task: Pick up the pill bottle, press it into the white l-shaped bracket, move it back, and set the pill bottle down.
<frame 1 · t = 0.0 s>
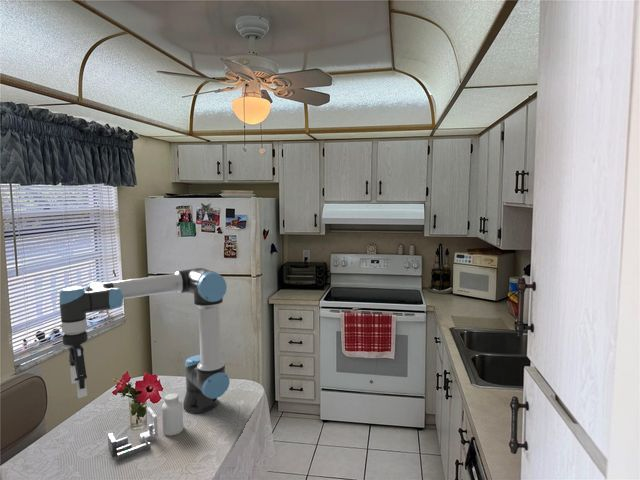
hand: (79, 389, 146), 28 cm above the table, fingers open, 13 cm apart
gauge housing: (120, 449, 157), on the table
white l-shaped bracket: (148, 427, 162), point 6 cm above the table, slide at 0.0 cm
pill bottle: (173, 431, 170), on the table
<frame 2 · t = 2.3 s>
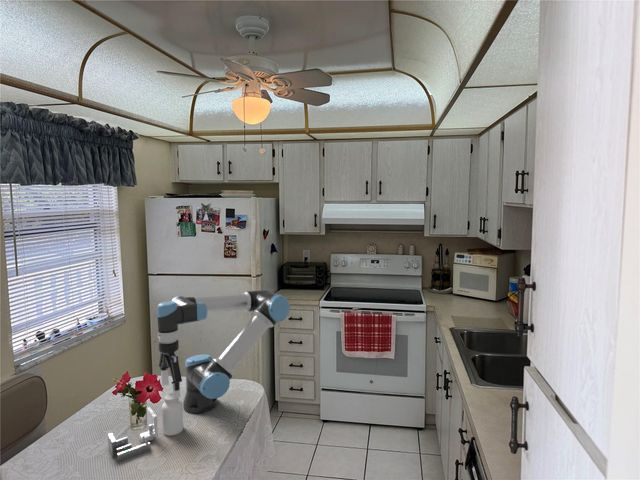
hand: (170, 391, 168), 17 cm above the table, fingers open, 13 cm apart
nothing on the table moved.
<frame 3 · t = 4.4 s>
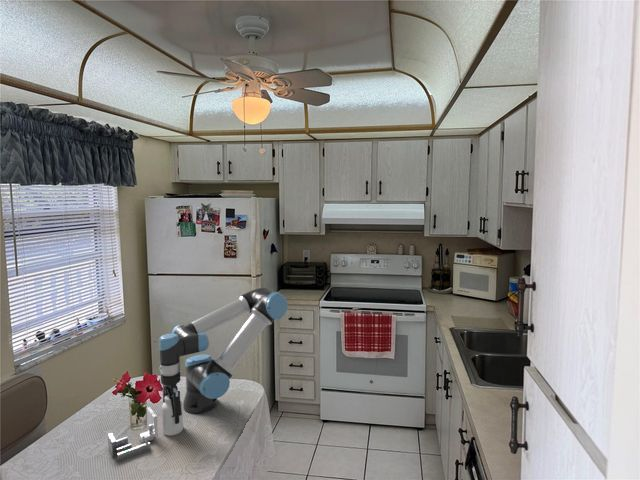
hand: (172, 425, 169), 2 cm above the table, fingers closed on pill bottle, 8 cm apart
pill bottle: (173, 431, 170), on the table, touching gripper
everything else where it was.
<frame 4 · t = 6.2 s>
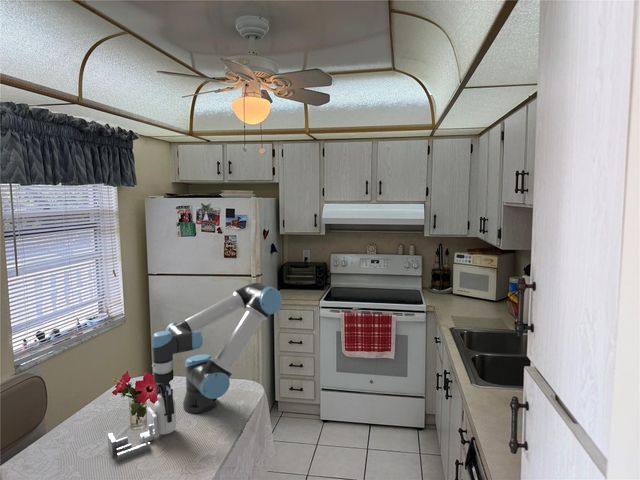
hand: (165, 424, 167), 4 cm above the table, fingers closed on pill bottle, 8 cm apart
pill bottle: (165, 429, 168), point 1 cm above the table, touching gripper
everything else where it was.
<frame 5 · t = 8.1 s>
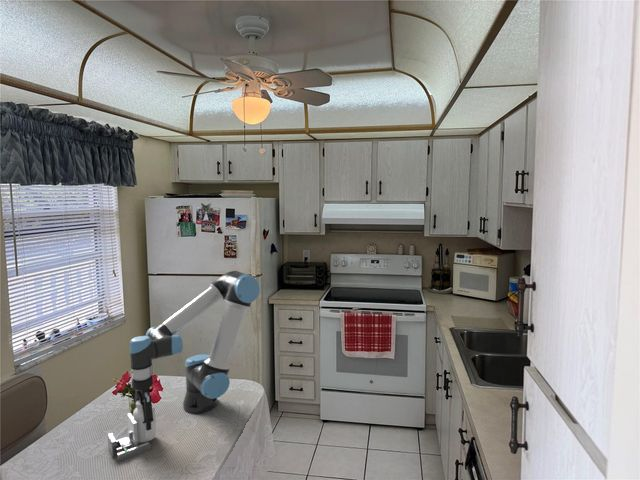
hand: (145, 431, 163), 4 cm above the table, fingers closed on pill bottle, 8 cm apart
white l-shaped bracket: (128, 434, 157), point 6 cm above the table, slide at 7.4 cm
pill bottle: (145, 437, 163), point 1 cm above the table, touching gripper
when the fingers open (2 cm above the table, at t = 10.5 s): pill bottle stays where it is, on the table.
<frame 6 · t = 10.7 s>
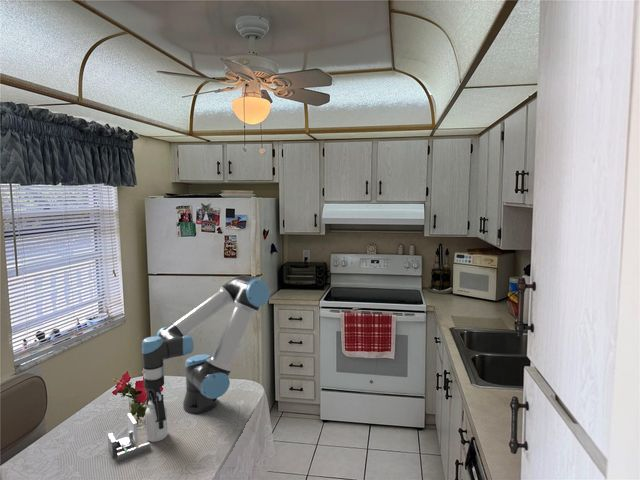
hand: (156, 429, 165), 3 cm above the table, fingers open, 10 cm apart
pill bottle: (157, 437, 166), on the table
everything else where it was.
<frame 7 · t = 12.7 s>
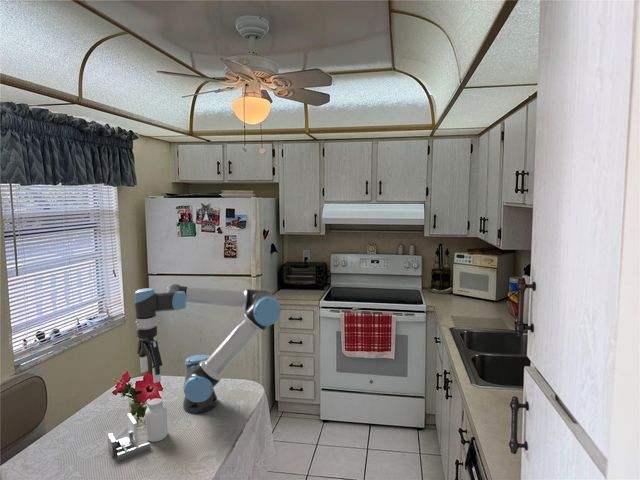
hand: (150, 376, 170), 22 cm above the table, fingers open, 13 cm apart
nothing on the table moved.
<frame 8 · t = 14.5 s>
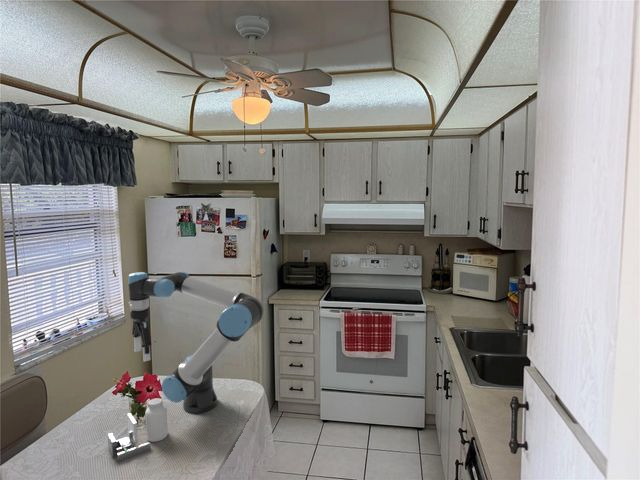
hand: (142, 355, 180), 27 cm above the table, fingers open, 13 cm apart
nothing on the table moved.
at the end: white l-shaped bracket slide at 7.4 cm; pill bottle tilted 0°; pill bottle touching table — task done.
